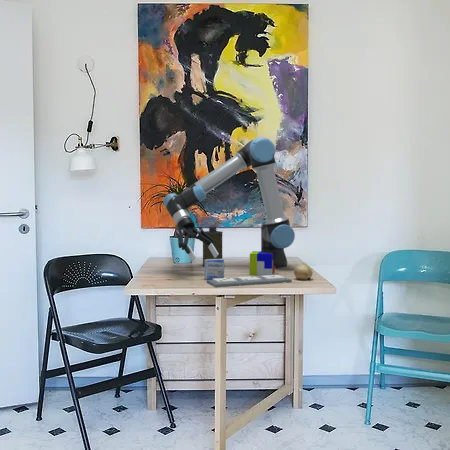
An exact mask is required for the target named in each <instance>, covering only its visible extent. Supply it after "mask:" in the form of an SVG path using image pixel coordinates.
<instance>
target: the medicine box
mask: <svg viewBox="0 0 450 450" xmlns="http://www.w3.org/2000/svg"><path fill="white" fill-rule="evenodd" d="M204 265H205V267H204V279H205V280H206V281H207V280H213V279H215V278H225V260H224V259H223V258H222V259H205V260H204Z"/></svg>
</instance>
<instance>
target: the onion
mask: <svg viewBox="0 0 450 450" xmlns="http://www.w3.org/2000/svg"><path fill="white" fill-rule="evenodd" d="M293 274H294V277H295V278H296V280H299V279H300V280H299V281H307V280H310V279H311V278H312V276H313V270H312V268H311V267H310V266H309V265H308V263H302V264H301V265H297V266H296V267H295V268H294V271H293ZM308 278H309V279H308Z"/></svg>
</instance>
